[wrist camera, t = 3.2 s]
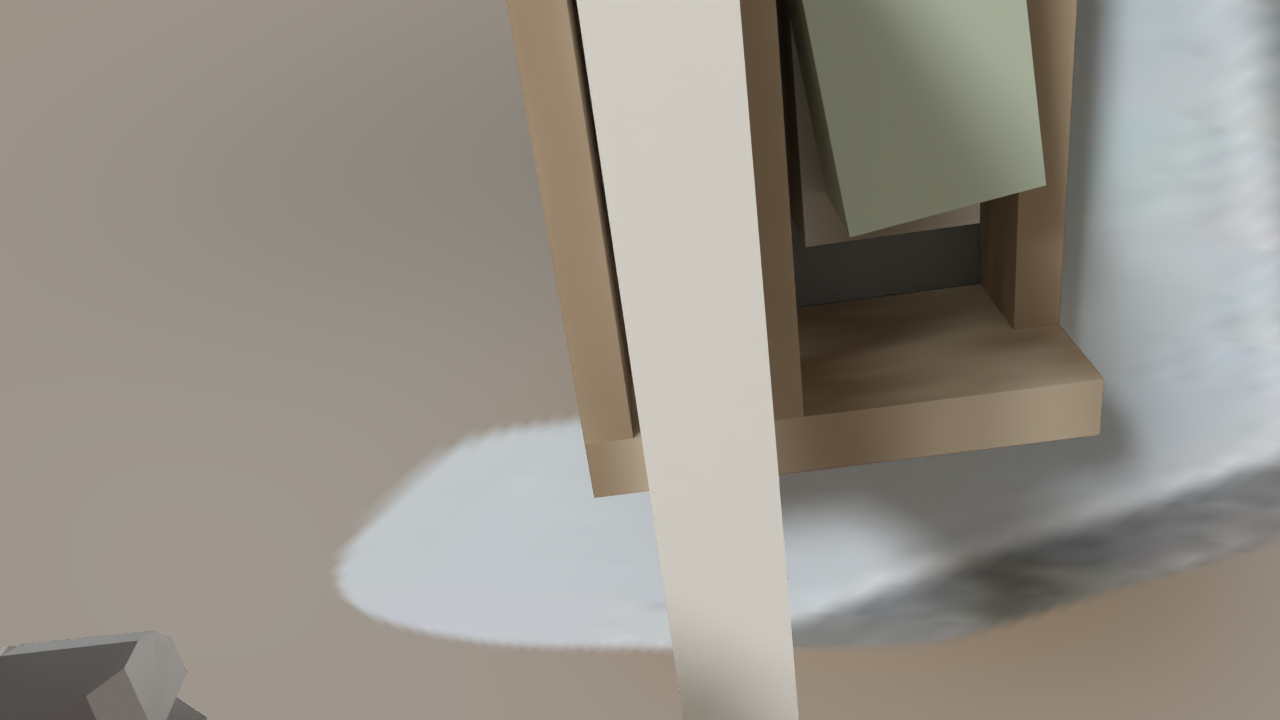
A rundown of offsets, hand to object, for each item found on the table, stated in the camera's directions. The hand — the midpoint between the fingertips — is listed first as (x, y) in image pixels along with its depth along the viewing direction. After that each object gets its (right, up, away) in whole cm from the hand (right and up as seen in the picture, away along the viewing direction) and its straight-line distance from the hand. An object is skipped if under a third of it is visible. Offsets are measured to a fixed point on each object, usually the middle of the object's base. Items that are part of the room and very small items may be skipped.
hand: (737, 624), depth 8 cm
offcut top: (+5, +10, +18) cm, 21 cm away
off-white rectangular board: (-1, +11, +20) cm, 23 cm away
